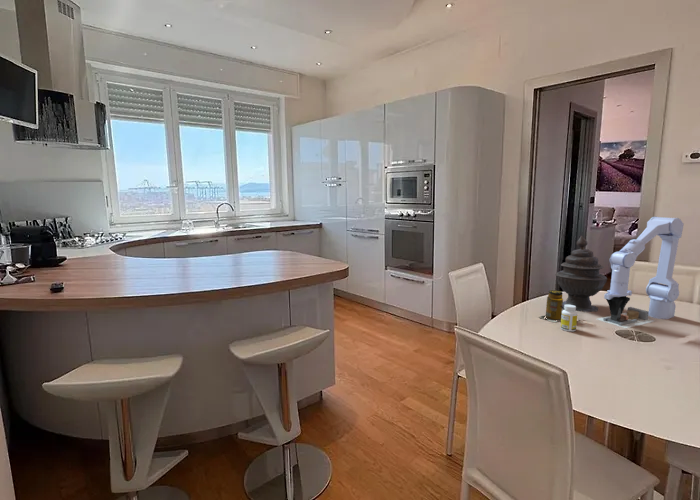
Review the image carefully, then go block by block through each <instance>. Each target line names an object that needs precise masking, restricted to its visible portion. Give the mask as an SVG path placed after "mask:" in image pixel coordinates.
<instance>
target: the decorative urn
mask: <svg viewBox="0 0 700 500" xmlns="http://www.w3.org/2000/svg"><path fill="white" fill-rule="evenodd" d="M588 243H589V242H588V241H587V240H586V239H585V238H584V237H583V235H580V237H579V239H578V240H577V241H576V245H577V246H578V247H579V249H574V250H572V251H571V252H570V253H571V254H570V255H568V256H566V257H565V262H562V263H561V264H560V266H561V267H562V268H563V270H560V271H558V272H556V273H555V280H556V281H557V285H558V286H559V287H560V288H561V290H562V292H564V293H565V294H567V298H566V300H563V305H562V310H565V309H564V305H567V304H568V305H574V306H576V310H575V311H576V312H581V313H582V312H584V313H592V312H593V313H594V312H595V313H596V312H598V311H599V307H598V306H596V305H592V301H591V298H590V297H593V296H595V295H596V294H598V293H599V292H600V291H602V290H603V289H604V286H605V285H606V284H607V280H608V278H607V276H606V275H604V274H602V273H600V270H601V269H603V268H604V266H603V265H601V264H599V257H596V256H594V251H592V250H590V249H587V248H585V247H586V246H587V245H588Z"/></svg>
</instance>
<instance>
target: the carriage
mask: <svg viewBox="0 0 700 500" xmlns="http://www.w3.org/2000/svg"><path fill="white" fill-rule="evenodd" d="M621 310H622V307H619V310H618V314H617V315H616V316H615V315H612V314H611V313H610V316H611V318H608V319H607V321H609V322H612V323H616V324H619V323H620V322H624V321H628V316H626V315H623V314H621Z"/></svg>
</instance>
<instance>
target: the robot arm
mask: <svg viewBox="0 0 700 500" xmlns="http://www.w3.org/2000/svg"><path fill="white" fill-rule="evenodd" d="M684 224H685V223H684V222H683V221H682V219H681V218H679V217H664V216H663V217H662V216H652V217H651V218H650V219H649V220H648V221H646V228H645V229H644V230H643V231H642V233H640V235H638V237H637V238H636V239H635V238H634V239H630V240H629V241H628V242H627V243H626V244H625V245H624V246H622V248H621V249H620V250H619V251H615V252H613V253H612V254H610V258H609V263H610V268H611V279H610V287H609V289H608V290H606V293H604V295H603V296H604V297H603V299H605V300H606V302H607V304H608V307H609V311H610V312H609V313H610V315H611V314H612V315H615V316H616V315H617V314H618V310H619V307H622V310H621V314H622V313H624V312H623V311H624V309H625V307H626V305H627V304H628V303H629V302H630V300H631V298H630V297H631V296H632V294H633V291H632V290H628V289H629V281H630V280H629V279H630V272H631V267H633V266H634V265H635V263H636V260H637V259H638V256H639V255H640V254H641V253H642V252H643V251H644V250H645V249H646V244H647V243H649V242H650V241H651V240H652V239H654V238H655V237H656V236H659V238H660V239H661V245H660V251H659V258H658V263H657V268H656V269H657V270H656V274H655V276H654V277H651V278H649V281H648V283H647V284H646V287H645V293H646V295H647V296H648V298H649V307H648V311H649V313H648V317H651V318H654V319H660V320H670V319H671V318H675V313H676V302H675V301H676V300H678V298H679V296H680V290H679V285H680V284H679V283H678V282H677V281H676V280H675V279H674V278H673V274H674V268H675V263H676V258H677V252H678V247H679V246H678V245H679V242H680V239H681V238H682V235H683V230H684Z"/></svg>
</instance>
